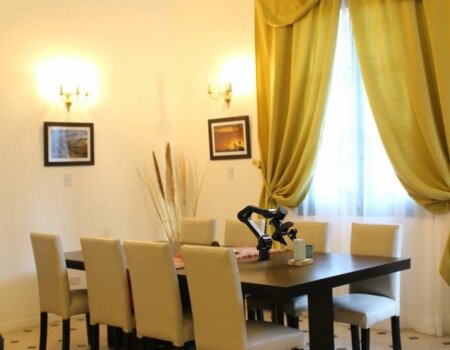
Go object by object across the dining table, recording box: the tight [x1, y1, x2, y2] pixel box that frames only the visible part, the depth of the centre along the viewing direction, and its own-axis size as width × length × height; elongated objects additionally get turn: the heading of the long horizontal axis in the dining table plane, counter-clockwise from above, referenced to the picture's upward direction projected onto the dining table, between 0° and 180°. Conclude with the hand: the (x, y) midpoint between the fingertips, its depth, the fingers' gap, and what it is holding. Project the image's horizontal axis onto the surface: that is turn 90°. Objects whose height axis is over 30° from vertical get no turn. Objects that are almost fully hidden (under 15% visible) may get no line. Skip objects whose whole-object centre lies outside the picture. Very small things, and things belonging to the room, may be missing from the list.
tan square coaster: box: [287, 258, 314, 267], centre depth 375 cm, size 11×11×3 cm
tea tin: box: [292, 238, 306, 261], centre depth 375 cm, size 5×5×12 cm
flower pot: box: [305, 244, 315, 259], centre depth 389 cm, size 9×9×9 cm
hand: (292, 244), depth 380 cm, fingers open, 9 cm apart
